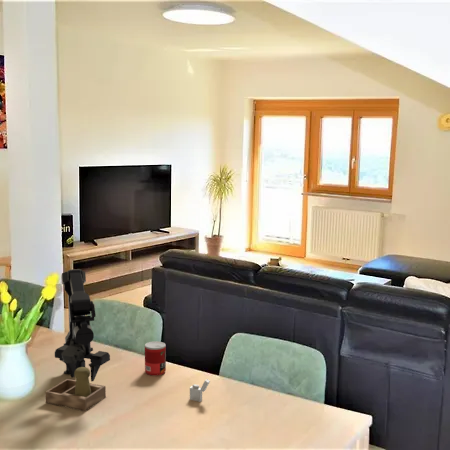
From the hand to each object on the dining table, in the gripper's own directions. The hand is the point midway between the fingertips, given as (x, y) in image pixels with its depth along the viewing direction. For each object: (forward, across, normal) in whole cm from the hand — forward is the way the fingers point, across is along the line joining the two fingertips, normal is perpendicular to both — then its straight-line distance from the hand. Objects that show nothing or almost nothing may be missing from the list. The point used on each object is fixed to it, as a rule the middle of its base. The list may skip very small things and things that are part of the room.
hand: (82, 379), depth 208 cm
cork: (+7, 0, 0) cm, 7 cm away
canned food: (+8, +10, +32) cm, 35 cm away
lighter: (+8, +36, +16) cm, 40 cm away
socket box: (+8, -3, 0) cm, 9 cm away
